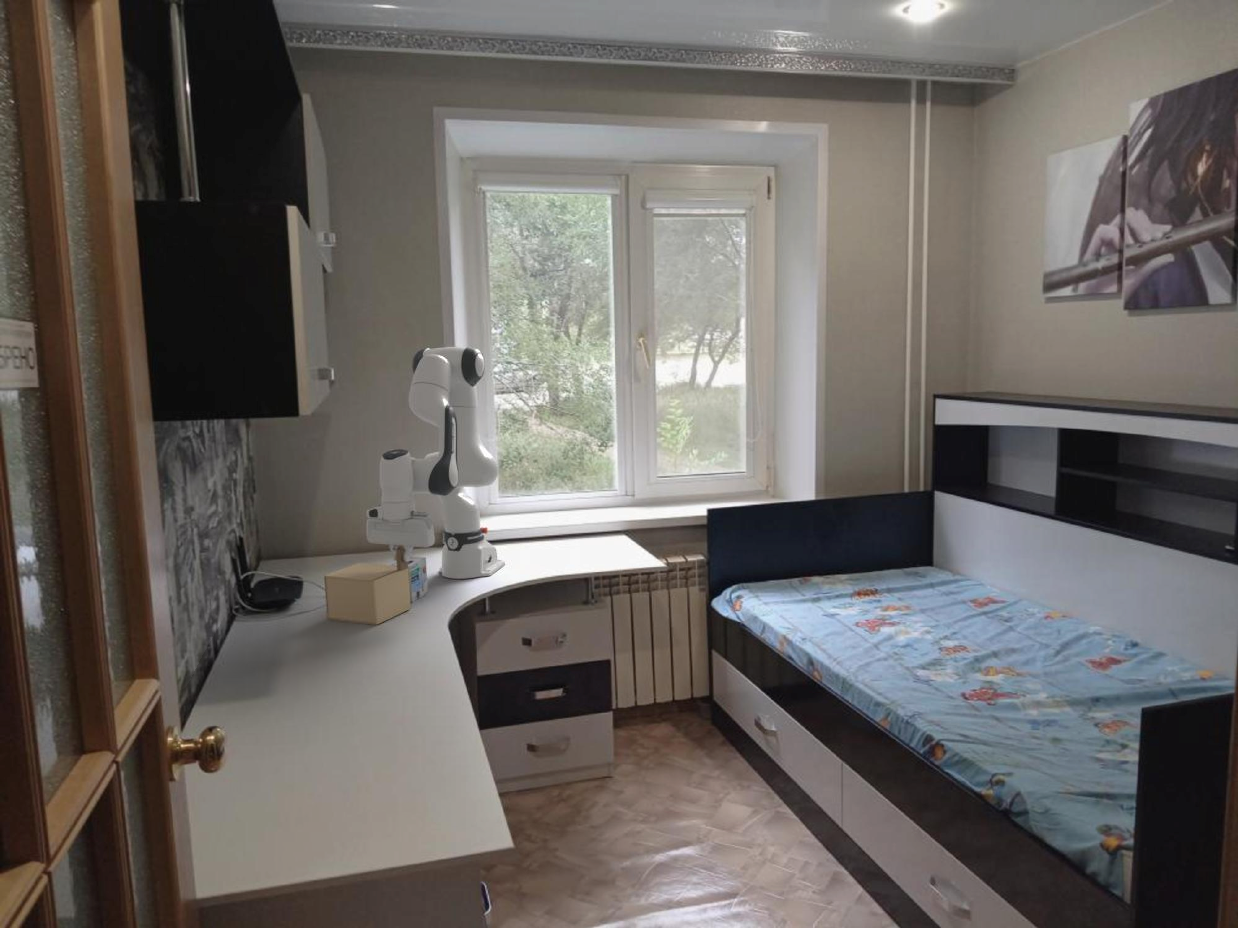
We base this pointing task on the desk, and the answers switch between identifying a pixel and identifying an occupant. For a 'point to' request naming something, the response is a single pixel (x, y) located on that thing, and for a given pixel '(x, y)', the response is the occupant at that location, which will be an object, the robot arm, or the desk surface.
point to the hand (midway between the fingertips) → (402, 560)
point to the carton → (354, 592)
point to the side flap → (392, 591)
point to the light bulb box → (417, 577)
